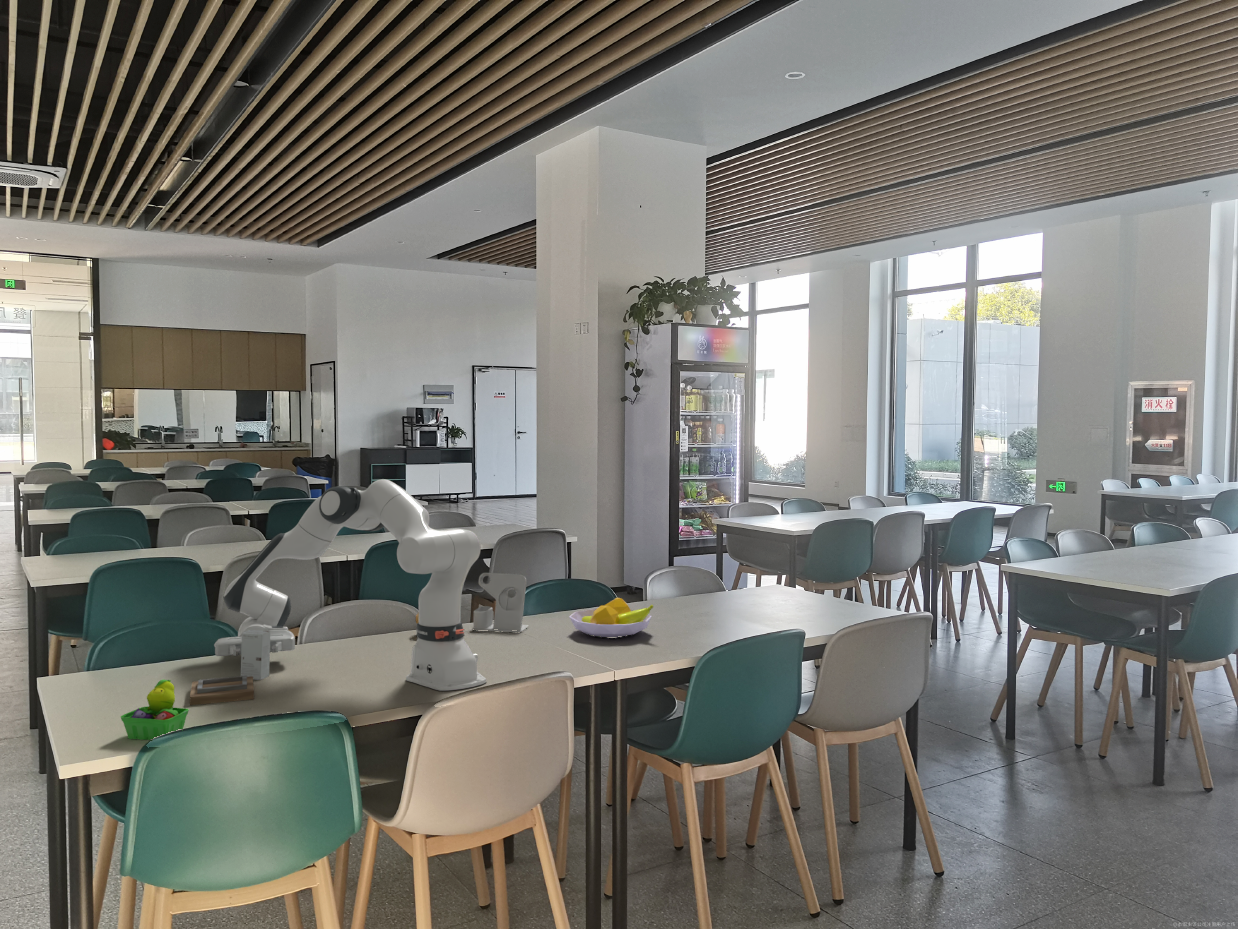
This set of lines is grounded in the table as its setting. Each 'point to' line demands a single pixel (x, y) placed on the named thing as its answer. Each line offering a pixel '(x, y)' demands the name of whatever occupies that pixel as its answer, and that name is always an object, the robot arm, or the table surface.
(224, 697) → the socket plinth
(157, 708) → the fruit basket
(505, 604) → the phone holder
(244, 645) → the skincare box
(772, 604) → the table surface
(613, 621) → the fruit bowl
